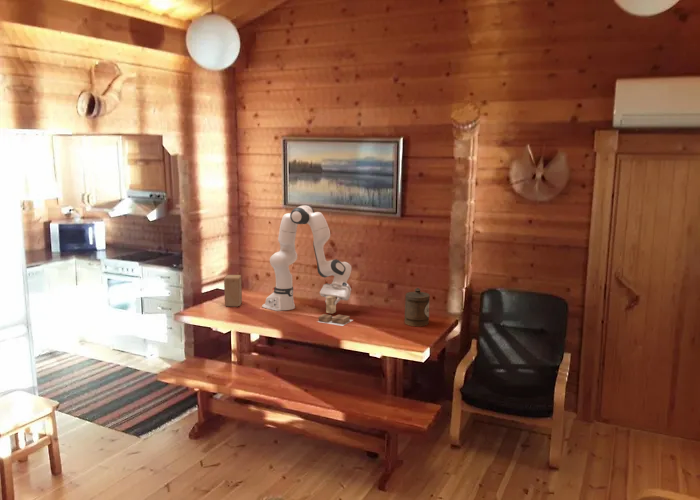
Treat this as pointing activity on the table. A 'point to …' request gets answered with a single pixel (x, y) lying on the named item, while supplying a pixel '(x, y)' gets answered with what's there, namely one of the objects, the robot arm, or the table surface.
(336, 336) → the table surface
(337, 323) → the blueprint board
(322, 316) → the walnut block
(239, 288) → the wooden block
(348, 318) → the walnut slab
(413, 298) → the wooden container
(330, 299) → the birch pillar
